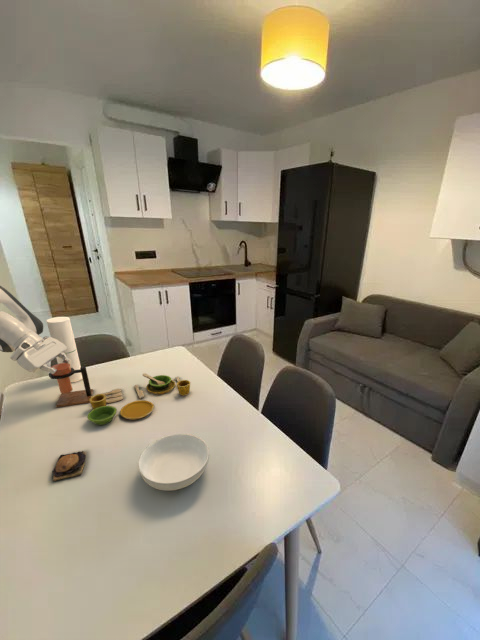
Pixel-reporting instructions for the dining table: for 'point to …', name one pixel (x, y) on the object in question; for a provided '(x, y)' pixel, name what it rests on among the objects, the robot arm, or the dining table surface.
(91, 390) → the cup holder
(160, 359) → the dining table surface
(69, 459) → the open sandwich
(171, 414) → the dining table surface
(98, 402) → the tableware set
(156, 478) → the serving bowl
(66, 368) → the orange wooden peg
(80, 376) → the container
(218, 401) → the dining table surface
